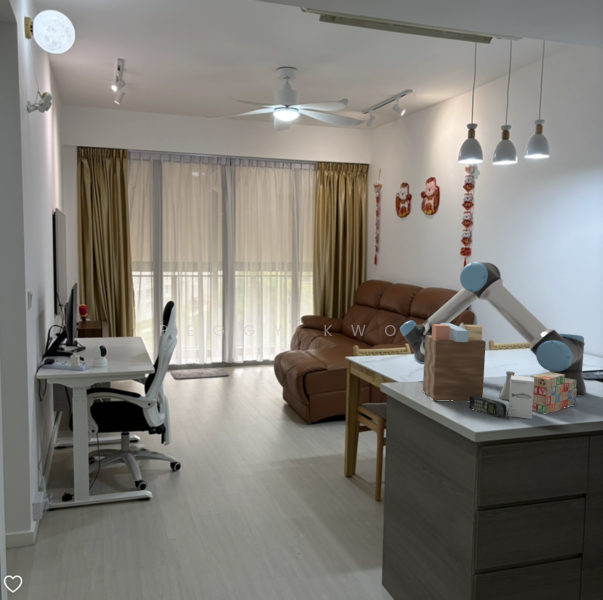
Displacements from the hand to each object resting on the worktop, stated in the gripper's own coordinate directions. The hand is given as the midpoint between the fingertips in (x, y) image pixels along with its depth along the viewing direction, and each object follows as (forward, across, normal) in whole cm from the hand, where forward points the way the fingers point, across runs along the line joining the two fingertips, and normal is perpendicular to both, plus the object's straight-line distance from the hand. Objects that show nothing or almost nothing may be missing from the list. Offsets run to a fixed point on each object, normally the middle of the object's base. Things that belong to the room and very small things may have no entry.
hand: (445, 325), depth 218 cm
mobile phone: (+15, -6, -39) cm, 42 cm away
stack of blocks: (+8, -32, -34) cm, 48 cm away
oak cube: (+9, -6, -9) cm, 14 cm away
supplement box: (+17, -16, -39) cm, 46 cm away
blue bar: (+6, 0, -7) cm, 9 cm away
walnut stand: (-4, 0, -27) cm, 28 cm away
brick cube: (+9, +6, -9) cm, 14 cm away
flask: (-2, -21, -28) cm, 35 cm away
